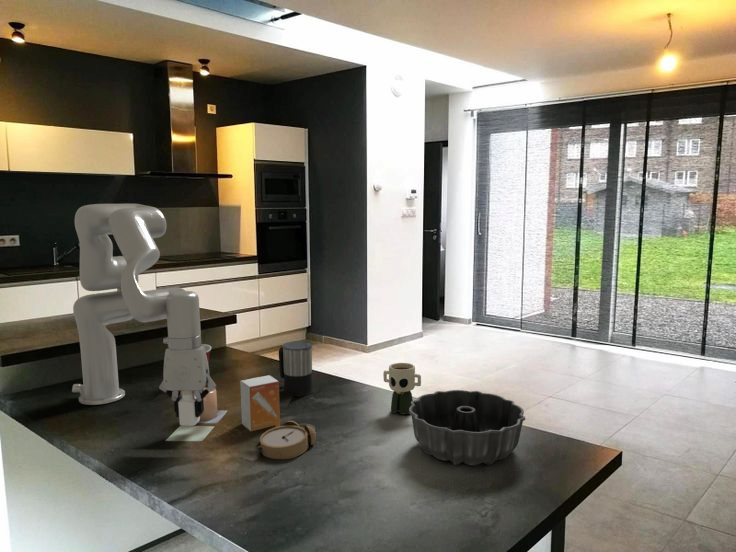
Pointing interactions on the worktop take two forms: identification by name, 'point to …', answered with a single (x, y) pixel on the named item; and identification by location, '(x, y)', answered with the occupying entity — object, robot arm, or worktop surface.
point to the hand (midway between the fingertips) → (189, 414)
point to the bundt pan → (466, 426)
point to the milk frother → (296, 367)
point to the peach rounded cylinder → (209, 406)
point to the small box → (260, 402)
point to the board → (195, 430)
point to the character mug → (401, 385)
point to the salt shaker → (187, 409)
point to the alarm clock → (287, 440)
